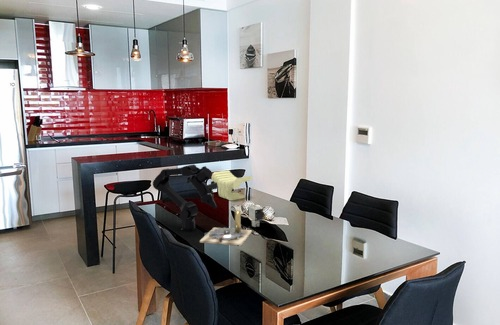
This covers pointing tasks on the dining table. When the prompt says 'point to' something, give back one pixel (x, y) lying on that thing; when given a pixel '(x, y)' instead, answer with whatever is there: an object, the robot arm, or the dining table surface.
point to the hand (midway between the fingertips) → (216, 208)
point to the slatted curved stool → (228, 184)
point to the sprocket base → (219, 241)
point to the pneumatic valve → (255, 215)
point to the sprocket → (229, 230)
